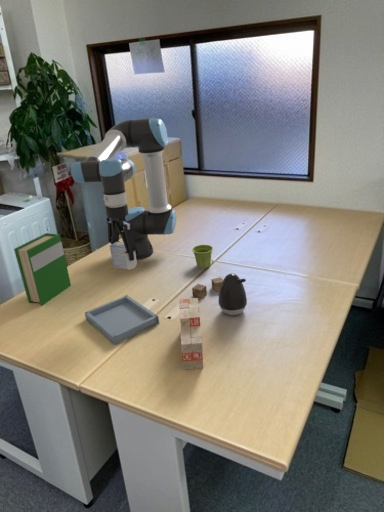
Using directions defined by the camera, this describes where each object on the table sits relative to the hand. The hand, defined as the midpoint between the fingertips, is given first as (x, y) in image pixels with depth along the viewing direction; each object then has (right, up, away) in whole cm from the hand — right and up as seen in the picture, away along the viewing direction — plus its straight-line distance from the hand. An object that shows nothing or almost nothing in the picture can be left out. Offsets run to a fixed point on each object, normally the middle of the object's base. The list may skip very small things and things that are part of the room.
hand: (124, 264), depth 147 cm
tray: (-1, -21, -1) cm, 21 cm away
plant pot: (+30, -2, +38) cm, 48 cm away
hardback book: (-35, -13, +23) cm, 44 cm away
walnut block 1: (+28, -13, +13) cm, 33 cm away
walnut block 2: (+35, -10, +17) cm, 40 cm away
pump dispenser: (+40, -17, 0) cm, 43 cm away
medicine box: (0, -1, 0) cm, 1 cm away
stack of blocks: (+25, -27, -18) cm, 40 cm away
